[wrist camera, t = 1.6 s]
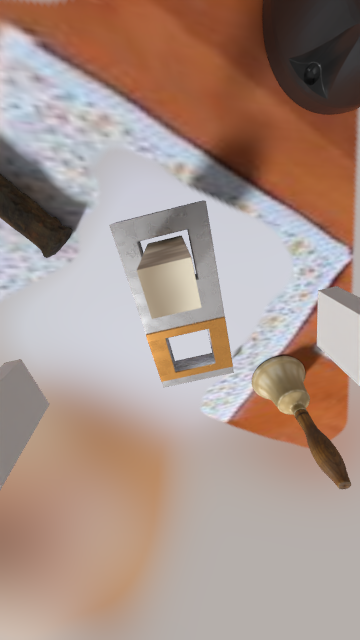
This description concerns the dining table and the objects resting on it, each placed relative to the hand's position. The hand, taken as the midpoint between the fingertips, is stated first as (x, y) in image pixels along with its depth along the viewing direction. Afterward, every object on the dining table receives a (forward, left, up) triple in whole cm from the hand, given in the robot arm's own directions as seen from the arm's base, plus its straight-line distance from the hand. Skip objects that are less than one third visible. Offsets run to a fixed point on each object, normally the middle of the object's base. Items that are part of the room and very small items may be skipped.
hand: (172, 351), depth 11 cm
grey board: (0, +6, -20) cm, 21 cm away
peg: (0, 0, -20) cm, 20 cm away
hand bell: (-12, +22, -20) cm, 32 cm away
